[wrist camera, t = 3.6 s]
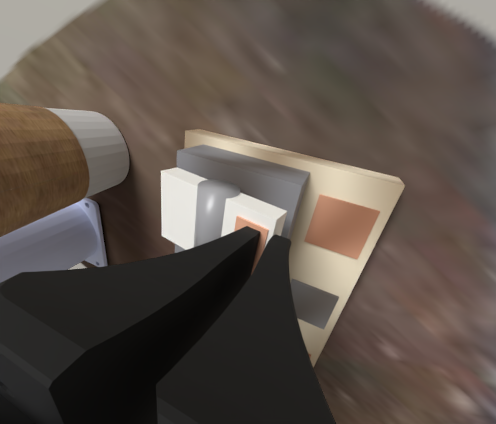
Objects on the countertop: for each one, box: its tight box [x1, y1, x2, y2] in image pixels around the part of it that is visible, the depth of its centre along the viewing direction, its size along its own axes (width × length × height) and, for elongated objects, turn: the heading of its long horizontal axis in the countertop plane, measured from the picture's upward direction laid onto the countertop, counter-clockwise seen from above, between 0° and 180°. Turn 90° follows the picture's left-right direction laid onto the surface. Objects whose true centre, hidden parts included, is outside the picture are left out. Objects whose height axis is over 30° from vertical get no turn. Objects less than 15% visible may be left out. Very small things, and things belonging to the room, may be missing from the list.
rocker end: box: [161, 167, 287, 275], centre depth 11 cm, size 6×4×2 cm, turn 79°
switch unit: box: [175, 129, 405, 367], centre depth 16 cm, size 12×18×4 cm, turn 170°
